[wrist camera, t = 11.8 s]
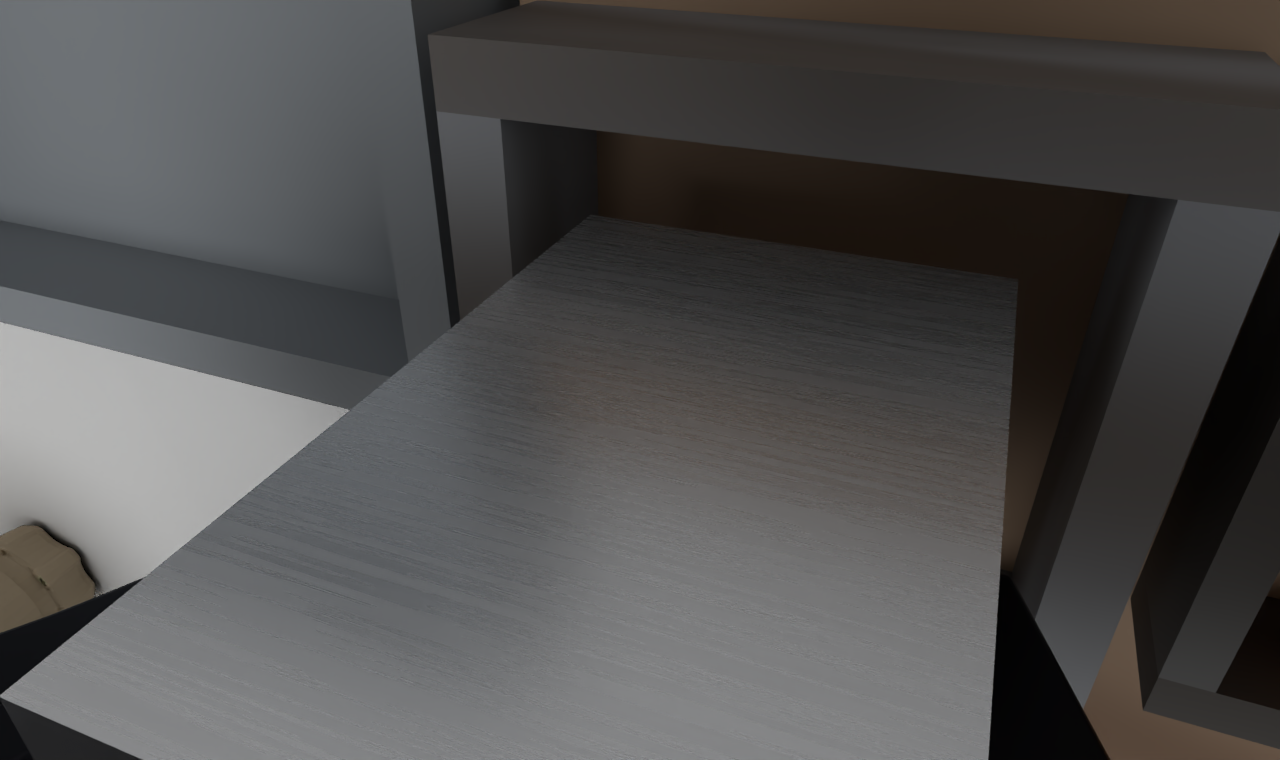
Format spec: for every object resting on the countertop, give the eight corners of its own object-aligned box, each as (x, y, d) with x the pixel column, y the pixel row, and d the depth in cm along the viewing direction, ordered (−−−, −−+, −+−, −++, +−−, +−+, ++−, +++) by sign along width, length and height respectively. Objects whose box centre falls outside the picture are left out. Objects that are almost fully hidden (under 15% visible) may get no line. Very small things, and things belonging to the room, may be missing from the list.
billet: (933, 613, 11) (814, 1431, 5) (598, 522, 12) (223, 1092, 7) (1017, 280, 8) (963, 1121, 3) (590, 214, 10) (-2, 696, 4)
